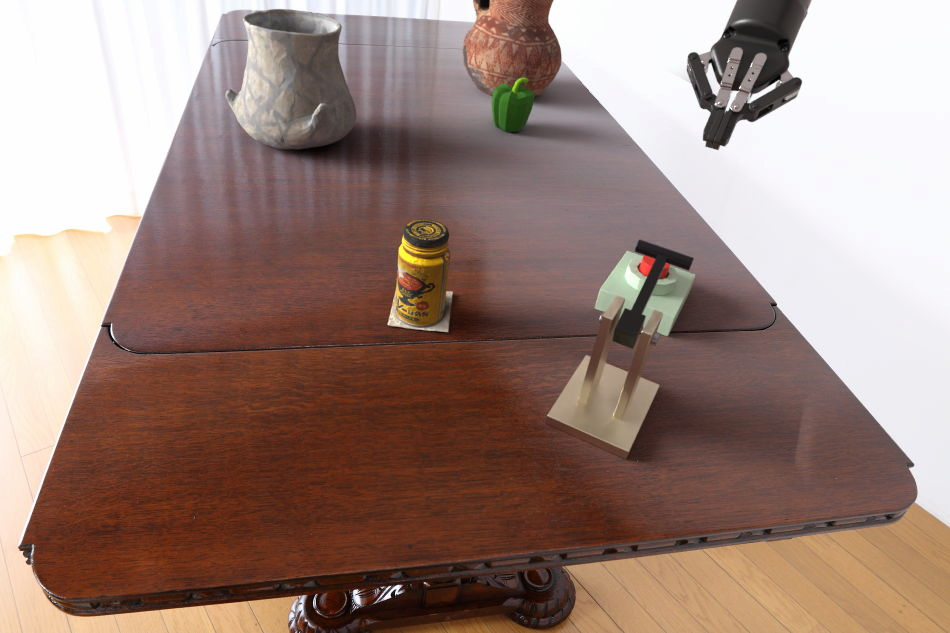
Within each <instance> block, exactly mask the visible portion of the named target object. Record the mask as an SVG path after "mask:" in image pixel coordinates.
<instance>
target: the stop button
mask: <svg viewBox="0 0 950 633" xmlns="http://www.w3.org/2000/svg"><path fill="white" fill-rule="evenodd" d="M643 256H644V257H643V258H642V261H641V265H640V268H639V271H640V273H642V274H643V275H644V276H648V274H649V272H650V270H651V268H652V265H653V263H654V261H655V259H654V258H651V257H648V256H645V255H643ZM670 265H671V264H668V263H666V265H665V267H664V269H663V271H662V274H661V276H660V278H659V279H664V278H665V277H666V275H667V272H668V270H669V267H670Z"/></svg>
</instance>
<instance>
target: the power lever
mask: <svg viewBox="0 0 950 633" xmlns="http://www.w3.org/2000/svg"><path fill="white" fill-rule="evenodd" d="M634 253H636V254H639V255H641V256H648V257H651V258H654V259H655V261H654V263H653V265H652V268H651V270H650V272H649V274H648V276H647V278H646V280H645V282H644V284H643V286H642V288H641V290H640V293H639V295H638V297H637V299H636V301H635V303H634V305H633V307H632V309H631V310H629V309H627V308H625V309H624V311H623V313H622V315H621V317H620V318H619V321H618V323H617V325H616V327H615V330H614V335H613V341H612V342H613V343H616V344H619V345H621V346H623V347H626V348H628V349H631V350H633V349H634V348H635V347H636V345H637V344H636V343H638V340H639V338H640V336H641V333H642V330H643V329H644V327H643V325H644V321H645V317H646V316H645V315H643V312H644V310H645V308H646V305H647V303H648V301H649V299H650V297H651V295H652V293H653V291H654V288H655V286H656V284H657V282H658V280H659V278H660V276H661V274H662V271H663V269H664V267H665V265H666V263H668V264H670V265H671V266H673V267H676V268H678V269H681V270H684V271H687V272H690V270H691V268H692V265H693V263H694V260H695V257H693V256H690V255H687V254H685V253H682V252H678V251H675V250H673V249H670V248H667V247H665V246H661V245H658V244H656V243H652V242H649V241H647V240H643V239H638V240H637V243H636V245H635V248H634Z"/></svg>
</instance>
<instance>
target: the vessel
mask: <svg viewBox="0 0 950 633" xmlns="http://www.w3.org/2000/svg"><path fill="white" fill-rule="evenodd" d="M242 21H243V24H244V27H245V30H246V34H247V55H246V56H247V57H246V64H245V68H244V71H243V72H244V73H243V78H242V85H241V88H240V91H239V92H238V93H236V92H235V91H234V90H232V89H231V88H230V89H227V90H226V91H225V95H224V97H225V99H226V102H227V103H228V104H229V106H230V108H231V110H232V111H233V113H234V115H235V117H236V118H235V119H236V120H237V122H238V123H239V125H240V126H241V127H242V129H243V130H244V131H245V132H246V133H247V134H248V135H249V136H250V137H251V138H252V139H254V141H256V142H259V143H261V144H262V145H265V146H268V147H272V148H274V149H278V150H303V149H311V148H318V147H319V148H320V147H325V146H327V145H331V144H335V143H337V142H338V141H340V140H342V139H344V138H345V137H346V136H347V135H348V134H349V133H350V132H351V130H352V129H353V128H354V125H355V124H356V120H357V108H356V105H355V101H354V99H353V96H352V94H351V92H350V88H349V85H348V83H347V81H346V77H345V74H344V70H343V68H342V64H341V61H340V57H339V55H340V54H339V45H340V44H339V42H340V36H341V32H342V28H343V26H342V24H341V23H340V22H339V21H338V20H336V19H334V18H331V17H329V16H327V15H324V14H321V13H317V12H312V11H305V10H297V9H291V8H289V9H287V8H271V9H266V10H257V11H254V12H251V13H247V14H246V15H245V16H244V17H243V20H242Z"/></svg>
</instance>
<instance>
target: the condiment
mask: <svg viewBox="0 0 950 633" xmlns="http://www.w3.org/2000/svg"><path fill="white" fill-rule="evenodd" d="M449 232H450V231H449V229H448V226H446V225H444V224H443V223H442V222H440V221H436V220H434V219H433V220H432V219H428V218H426V219H424V218H423V219H422V218H421V219H415V220H412V221H409V222H407V223H406V224H405V226H404V228H403V230H402V239H401V244H400V246H399V247H398V253H397V254H398V255H397V271H396V287H395V292H394V296H393V300H392V303H391V304H392V305H391V309H390V312H389V317H388V322H387V326H390V327H397V328H404V329H411V330H419V331H420V330H422V331H429V332H431V331H432V332H442V333H443V332H444V333H449V328H450V327H449V326H450V318H451V310H452V302H453V294H454V293H453V291H450V290H448V289H447V288H448V281H449V280H448V279H449V271H450V263H451V252H450V251H451V250H450V249H449V243H450V242H449V239H450V233H449Z"/></svg>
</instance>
